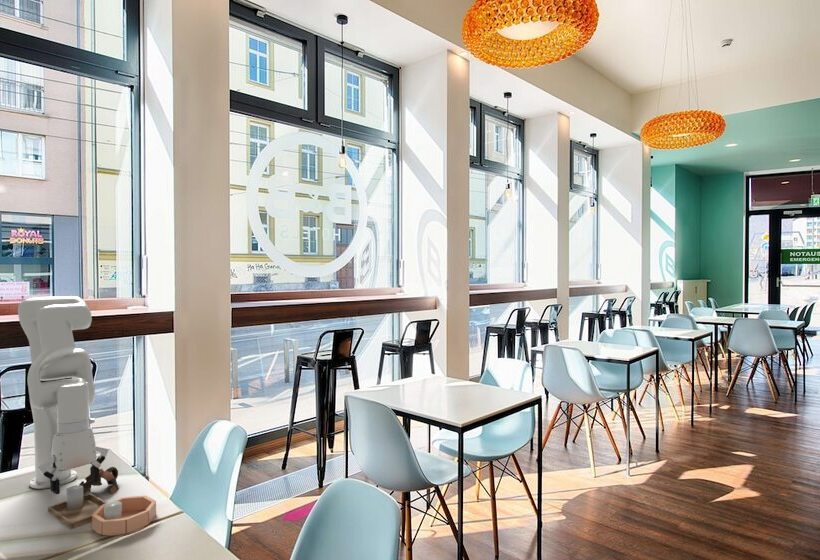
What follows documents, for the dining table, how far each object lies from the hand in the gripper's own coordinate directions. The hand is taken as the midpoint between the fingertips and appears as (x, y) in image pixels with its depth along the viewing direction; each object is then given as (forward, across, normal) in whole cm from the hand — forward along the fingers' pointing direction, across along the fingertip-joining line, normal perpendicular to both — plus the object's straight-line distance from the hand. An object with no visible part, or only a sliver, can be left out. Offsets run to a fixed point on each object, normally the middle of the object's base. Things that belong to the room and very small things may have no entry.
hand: (75, 486), depth 143 cm
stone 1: (+6, 0, -1) cm, 6 cm away
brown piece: (+7, -10, -7) cm, 14 cm away
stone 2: (+7, -2, +19) cm, 20 cm away
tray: (+7, 0, +3) cm, 8 cm away
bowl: (+7, -5, +19) cm, 21 cm away
